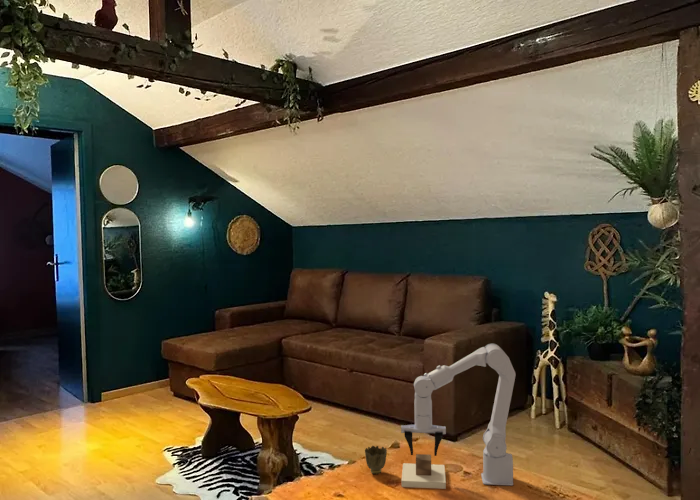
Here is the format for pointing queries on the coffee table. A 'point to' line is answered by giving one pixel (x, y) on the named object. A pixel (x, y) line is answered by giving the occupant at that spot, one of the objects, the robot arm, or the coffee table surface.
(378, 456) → the cup
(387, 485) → the coffee table surface
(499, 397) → the robot arm
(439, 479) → the base board
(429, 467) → the walnut block
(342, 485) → the coffee table surface
